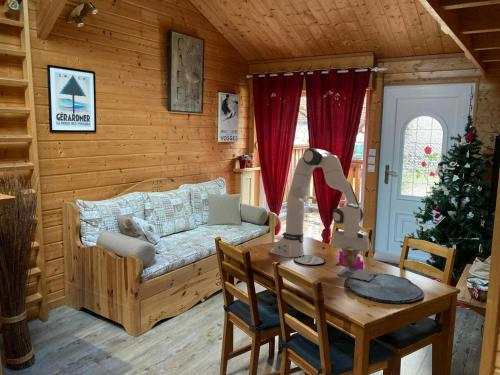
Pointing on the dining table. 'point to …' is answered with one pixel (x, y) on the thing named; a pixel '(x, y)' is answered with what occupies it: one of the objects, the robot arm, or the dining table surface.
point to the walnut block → (349, 256)
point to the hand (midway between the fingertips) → (350, 256)
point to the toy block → (358, 265)
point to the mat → (356, 273)
